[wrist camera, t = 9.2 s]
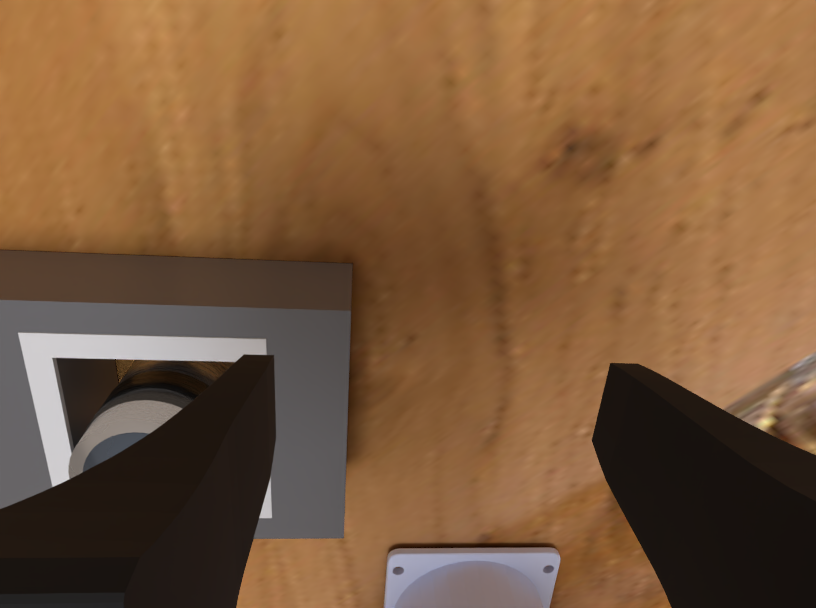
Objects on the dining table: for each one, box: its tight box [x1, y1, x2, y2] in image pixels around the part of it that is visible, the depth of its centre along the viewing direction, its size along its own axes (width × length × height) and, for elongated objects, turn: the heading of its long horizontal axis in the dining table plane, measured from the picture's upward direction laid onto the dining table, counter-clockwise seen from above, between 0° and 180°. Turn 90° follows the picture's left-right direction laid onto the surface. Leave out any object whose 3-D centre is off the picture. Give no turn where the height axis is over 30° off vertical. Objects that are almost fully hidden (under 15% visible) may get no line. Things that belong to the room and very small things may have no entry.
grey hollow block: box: [0, 250, 353, 539], centre depth 21 cm, size 9×12×4 cm
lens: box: [68, 360, 235, 479], centre depth 20 cm, size 4×4×6 cm
